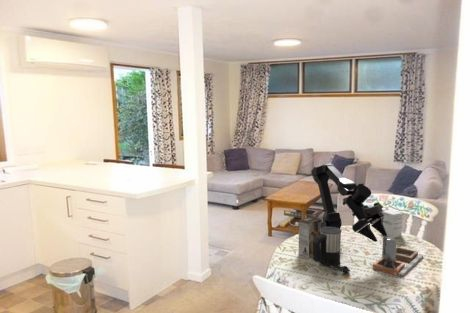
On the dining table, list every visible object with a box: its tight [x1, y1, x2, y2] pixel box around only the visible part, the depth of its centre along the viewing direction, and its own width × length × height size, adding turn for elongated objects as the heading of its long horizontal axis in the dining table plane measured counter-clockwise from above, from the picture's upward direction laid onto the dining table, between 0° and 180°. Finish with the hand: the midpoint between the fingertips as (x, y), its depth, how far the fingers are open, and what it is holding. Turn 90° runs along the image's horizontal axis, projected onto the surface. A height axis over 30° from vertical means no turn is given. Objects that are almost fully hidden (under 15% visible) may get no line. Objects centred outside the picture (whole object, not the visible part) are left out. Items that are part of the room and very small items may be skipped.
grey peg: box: [381, 236, 398, 269], centre depth 151 cm, size 5×5×12 cm
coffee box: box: [298, 216, 323, 259], centre depth 167 cm, size 9×6×16 cm
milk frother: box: [312, 227, 351, 274], centre depth 152 cm, size 14×16×15 cm
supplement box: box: [382, 209, 404, 239], centre depth 191 cm, size 7×7×13 cm
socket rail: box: [372, 246, 424, 278], centre depth 157 cm, size 27×12×2 cm, turn 137°
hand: (381, 238), depth 153 cm, fingers open, 9 cm apart
